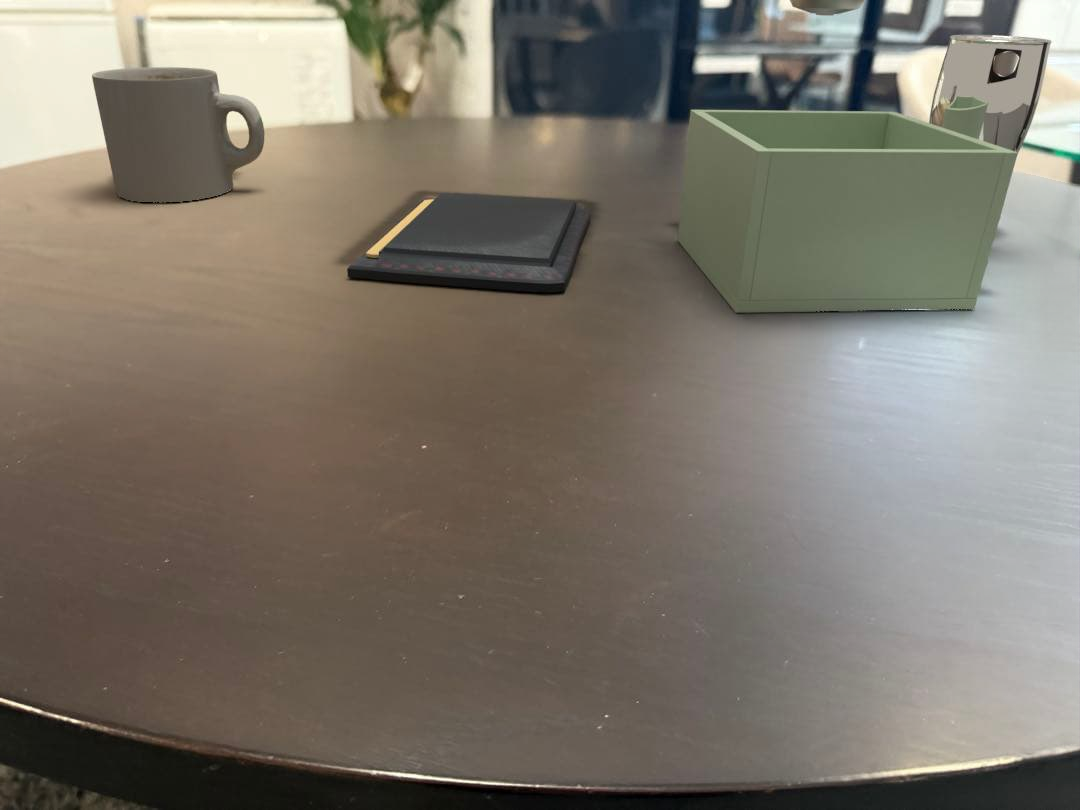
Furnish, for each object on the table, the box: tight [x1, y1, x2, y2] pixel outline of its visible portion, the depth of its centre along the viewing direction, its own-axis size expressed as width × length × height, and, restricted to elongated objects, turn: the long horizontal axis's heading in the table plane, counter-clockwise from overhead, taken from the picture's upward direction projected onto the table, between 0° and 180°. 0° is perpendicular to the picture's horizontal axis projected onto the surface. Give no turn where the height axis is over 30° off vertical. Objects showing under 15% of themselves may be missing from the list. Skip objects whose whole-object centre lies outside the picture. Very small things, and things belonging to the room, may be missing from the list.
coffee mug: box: [91, 66, 265, 204], centre depth 74 cm, size 13×10×10 cm
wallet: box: [346, 192, 591, 294], centre depth 63 cm, size 20×2×15 cm
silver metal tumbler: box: [928, 34, 1053, 156], centre depth 63 cm, size 7×7×15 cm
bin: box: [677, 109, 1019, 314], centre depth 57 cm, size 16×16×10 cm
